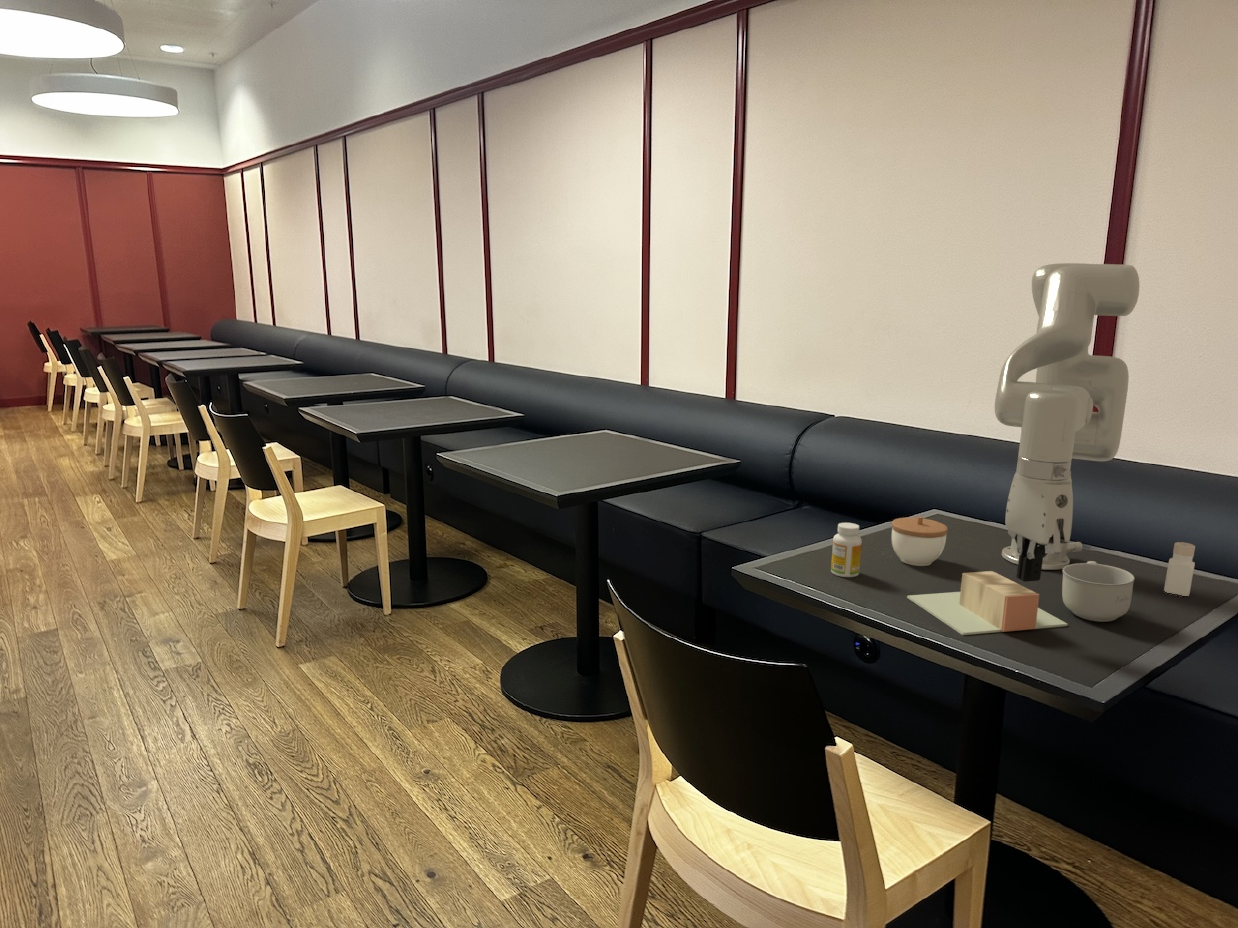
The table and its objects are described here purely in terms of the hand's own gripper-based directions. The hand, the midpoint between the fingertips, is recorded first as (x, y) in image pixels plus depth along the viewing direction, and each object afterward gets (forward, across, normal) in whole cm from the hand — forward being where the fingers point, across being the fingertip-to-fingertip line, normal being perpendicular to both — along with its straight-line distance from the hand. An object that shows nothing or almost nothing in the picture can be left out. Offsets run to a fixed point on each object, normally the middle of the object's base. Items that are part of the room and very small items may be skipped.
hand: (1028, 579), depth 139 cm
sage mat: (+9, +9, 0) cm, 13 cm away
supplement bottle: (+10, +32, +15) cm, 36 cm away
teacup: (+10, +6, -19) cm, 22 cm away
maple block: (+6, 0, 0) cm, 6 cm away
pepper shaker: (+10, +10, -42) cm, 44 cm away
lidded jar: (+10, +36, -3) cm, 37 cm away
